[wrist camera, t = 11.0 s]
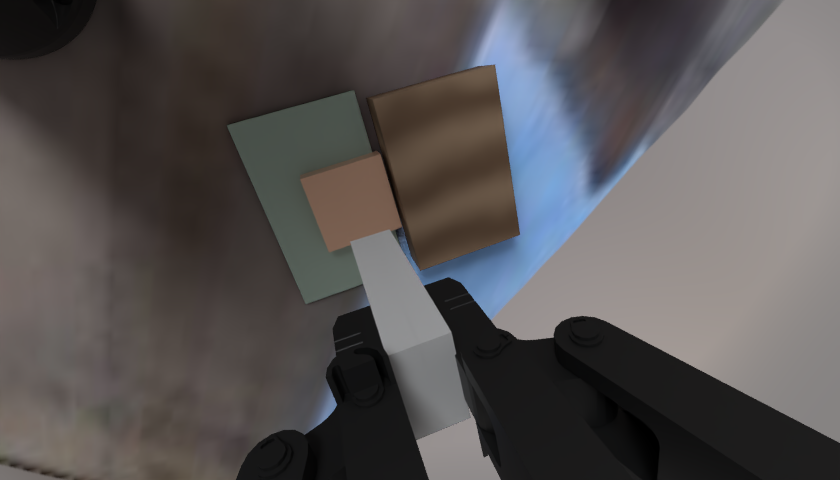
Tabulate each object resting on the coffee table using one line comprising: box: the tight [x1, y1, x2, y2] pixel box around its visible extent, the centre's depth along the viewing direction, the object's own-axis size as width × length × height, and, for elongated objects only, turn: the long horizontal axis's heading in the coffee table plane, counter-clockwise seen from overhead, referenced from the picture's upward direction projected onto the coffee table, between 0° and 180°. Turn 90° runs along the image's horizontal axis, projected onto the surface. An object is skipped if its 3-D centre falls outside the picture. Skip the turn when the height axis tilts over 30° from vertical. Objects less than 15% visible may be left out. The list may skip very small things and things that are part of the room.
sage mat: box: [227, 90, 400, 304], centre depth 41 cm, size 20×12×1 cm, turn 14°
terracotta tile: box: [300, 151, 402, 252], centre depth 40 cm, size 8×8×2 cm
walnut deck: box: [366, 65, 520, 271], centre depth 41 cm, size 18×12×4 cm, turn 14°
